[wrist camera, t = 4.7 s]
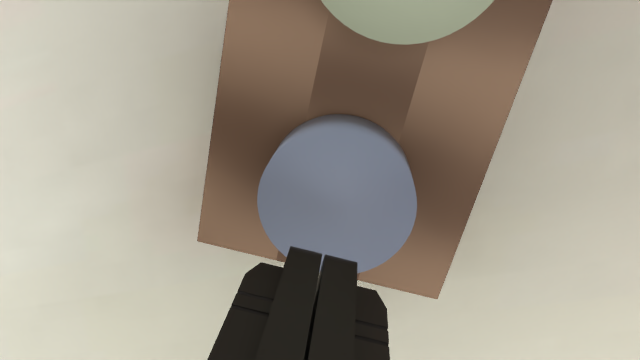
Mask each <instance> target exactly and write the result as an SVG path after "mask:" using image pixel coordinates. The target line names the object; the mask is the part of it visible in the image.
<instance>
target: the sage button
mask: <svg viewBox="0 0 640 360" xmlns="http://www.w3.org/2000/svg"><path fill="white" fill-rule="evenodd" d="M321 1H322V3H323V4H324V5H325V6H326V8H327V9H328V10H329V11H330V12H331V13H332V14H333V15H334V16H335V17H336V18H337V19H338V20H339V21H340V22H342V23H343V24H344V25H345V26H347V27H348V28H350V29H352V30H353V31H355V32H356V33H359V34H361V35H363V36H365V37H367V38H370V39H373V40H376V41H379V42H384V43H390V44H404V45H409V44H419V43H425V42H429V41H433V40H437V39H439V38H442V37H445V36H447V35H450V34H452V33H453V32H455V31H457V30H459V29H461V28H463V27H464V26H466V25H467V24H469V23H470V22H471V21H473V20H474V19H476V18H477V17H478V16H479V15H480V14H481V13H482V12H483V11H485V10H486V9H487V8H488V7H489V6H490V4H491V3H492V2H493V1H494V0H321Z"/></svg>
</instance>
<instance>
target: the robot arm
mask: <svg viewBox="0 0 640 360" xmlns="http://www.w3.org/2000/svg"><path fill="white" fill-rule="evenodd" d="M321 259H322V253H318V252H314V251H309V250H305V249H301V248H297V247H293V246H290V249H289V252H288V255H287V258H286V261H285V265H284V268H282V267H278V266H274V265H270V264H266V263H259V264H258V265H257V266H255V267H254V268H253V269H251V270H250V271H248V272H247V273H246V274H245V276H244V278H243V280H242V282H241V285H240V287H239V289H238V292H237V294H236V296H235V298H234V301H233V303H232V306H231V308H230V310H229V312H228V314H227V317H226V319H225V321H224V323H223V326H222V328H221V330H220V332H219V335H218V337H217V339H216V341H215V344H214V346H213V348H212V351H211V353H210V355H209V357H208V360H390V356H389V347H388V344H389V339H388V331H387V329H388V321H387V308H386V307H385V305H384V303H383V301H382V300H381V298H380V296H379V295H378V293H377V291H375V290H371V289H367V288H363V287H359V286H357V266H358V264H357V262H354V261H350V260H346V259H342V258H338V257H334V256H330V255H326V254H325V256H324V259H323V262H322V266H321V270H320V265H321ZM319 271H320V273H319ZM318 276H319V277H318Z"/></svg>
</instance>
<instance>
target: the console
mask: <svg viewBox="0 0 640 360" xmlns="http://www.w3.org/2000/svg"><path fill="white" fill-rule="evenodd" d="M551 3H552V0H494V1H493V2H492V3H491V4H490V6H489V7H488V8H487V9H486V10H485V11H483V12H482V13H481V14H480V15H479V16H478V17H477V18H476V19H474V20H473V21H471V22H470V23H469V24H467V25H466V26H464V27H463V28H461V29H459V30H457V31H455V32H453V33H452V34H450V35H447V36H445V37H442V38H439V39H437V40H433V41H429V42H425V43H419V44H409V45H404V44H390V43H384V42H379V41H376V40H373V39H370V38H367V37H365V36H363V35H361V34H359V33H356V32H355V31H353V30H352V29H350V28H348V27H347V26H345V25H344V24H343V23H342V22H340V21H339V20H338V19H337V18H336V17H335V16H334V15H333V14H332V13H331V12H330V11H329V10H328V9H327V8H326V6H325V5H324V4H323V3H322V1H321V0H229V6H228V13H227V21H226V28H225V36H224V43H223V51H222V58H221V66H220V73H219V81H218V89H217V96H216V104H215V111H214V119H213V126H212V134H211V141H210V149H209V156H208V164H207V171H206V179H205V186H204V194H203V201H202V209H201V217H200V224H199V232H198V239H197V241H199V242H203V243H207V244H211V245H215V246H219V247H224V248H228V249H232V250H236V251H240V252H244V253H248V254H252V255H257V256H261V257H265V258H269V259H273V260H277V261H281V262H285V261H286V258H287V257H286V256H284V255H283V254H282V253H281V252H280V251H279V250H278V249H277V248H276V247H275V246H274V244H273V243H272V242H271V241H270V239H269V237H268V236H267V234H266V232H265V230H264V228H263V226H262V223H261V220H260V217H259V212H258V206H257V195H258V187H259V183H260V179H261V177H262V174H263V172H264V170H265V168H266V166H267V165H268V163H269V161H270V160H271V158H272V156H273V155H274V153H275V152H276V150H277V148H278V147H279V145H280V143H281V142H282V141H283V140H284V138H285V137H286V136H287V135H288V134H289V133H290V132H291V131H292V130H294V129H295V128H297V127H298V126H299V125H301V124H303V123H305V122H307V121H309V120H311V119H314V118H317V117H320V116H325V115H333V114H345V115H352V116H357V117H361V118H364V119H367V120H369V121H371V122H373V123H375V124H377V125H379V126H380V127H382V128H383V129H384V130H386V131H387V132H388V133H389V134H391V136H392V137H393V138H394V139H395V140H396V141H397V142H398V144H399V145H400V147H401V148H402V150H403V152H404V154H405V156H406V158H407V161H408V163H409V167H410V170H411V174H412V178H413V182H414V186H415V191H416V196H417V212H416V218H415V222H414V226H413V228H412V231H411V233H410V235H409V237H408V238H407V240H406V242H405V243H404V245H403V246H402V247H401V248H400V250H399V251H398V252H397V253H395V254H394V255H393V256H392V257H391V258H390V259H388V260H387V261H386V262H384V263H382V264H381V265H379V266H377V267H375V268H372V269H370V270H368V271H364V272H361V273H357V280H360V281H364V282H368V283H372V284H376V285H380V286H385V287H389V288H393V289H397V290H401V291H405V292H409V293H413V294H418V295H422V296H426V297H430V298H434V299H438V296H439V294H440V291H441V288H442V286H443V283H444V281H445V278H446V275H447V273H448V270H449V268H450V265H451V262H452V260H453V257H454V255H455V252H456V249H457V247H458V244H459V242H460V239H461V236H462V234H463V231H464V229H465V226H466V223H467V221H468V218H469V216H470V213H471V210H472V208H473V205H474V203H475V200H476V197H477V195H478V192H479V190H480V187H481V185H482V182H483V179H484V177H485V174H486V172H487V169H488V166H489V164H490V161H491V159H492V156H493V153H494V151H495V148H496V146H497V143H498V140H499V138H500V135H501V133H502V130H503V127H504V125H505V122H506V120H507V117H508V114H509V112H510V109H511V107H512V104H513V101H514V99H515V96H516V94H517V91H518V88H519V86H520V83H521V81H522V78H523V75H524V73H525V70H526V68H527V65H528V62H529V60H530V57H531V55H532V52H533V49H534V47H535V44H536V42H537V39H538V37H539V34H540V31H541V29H542V26H543V24H544V21H545V18H546V16H547V13H548V11H549V8H550V5H551Z"/></svg>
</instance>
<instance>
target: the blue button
mask: <svg viewBox="0 0 640 360" xmlns="http://www.w3.org/2000/svg"><path fill="white" fill-rule="evenodd" d="M257 206H258V212H259V217H260V220H261V223H262V226H263V228H264V230H265V232H266V234H267V236H268V237H269V239H270V241H271V242H272V243H273V244H274V246H275V247H276V248H277V249H278V250H279V251H280V252H281V253H282V254H283V255H284V256H286V257H287V255H288V252H289V249H290V246H293V247H297V248H301V249H305V250H309V251H314V252H318V253H322V259H321V265H320V270H321V266H322V262H323V259H324V256H325V254H326V255H330V256H334V257H338V258H342V259H346V260H350V261H354V262H357V264H358V266H357V273H361V272H364V271H368V270H370V269H372V268H375V267H377V266H379V265H381V264H382V263H384V262H386V261H387V260H388V259H390V258H391V257H392V256H393V255H394V254H395V253H397V252H398V251H399V250H400V248H401V247H402V246H403V245H404V243H405V242H406V240H407V238H408V237H409V235H410V233H411V231H412V228H413V226H414V222H415V218H416V212H417V196H416V191H415V186H414V182H413V178H412V174H411V170H410V167H409V163H408V161H407V158H406V156H405V154H404V152H403V150H402V148H401V147H400V145H399V144H398V142H397V141H396V140H395V139H394V138H393V137H392V136H391V134H389V133H388V132H387V131H386V130H384V129H383V128H382V127H380V126H379V125H377V124H375V123H373V122H371V121H369V120H367V119H364V118H361V117H357V116H352V115H345V114H333V115H325V116H320V117H317V118H314V119H311V120H309V121H307V122H305V123H303V124H301V125H299V126H298V127H297V128H295V129H294V130H292V131H291V132H290V133H289V134H288V135H287V136H286V137H285V138H284V140H283V141H282V142H281V143H280V145H279V147H278V148H277V150H276V152H275V153H274V155H273V156H272V158H271V160H270V161H269V163H268V165H267V166H266V168H265V170H264V172H263V174H262V177H261V179H260V183H259V187H258V195H257ZM319 273H320V271H319Z"/></svg>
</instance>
